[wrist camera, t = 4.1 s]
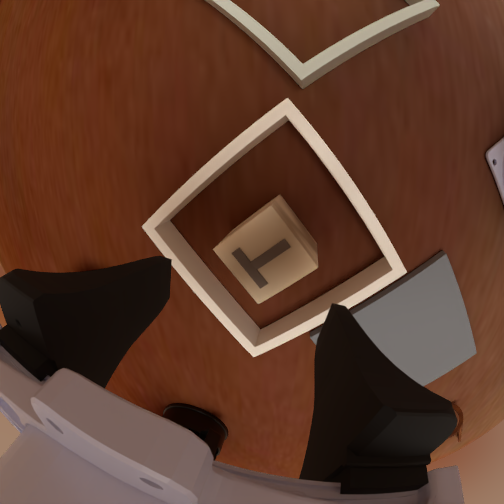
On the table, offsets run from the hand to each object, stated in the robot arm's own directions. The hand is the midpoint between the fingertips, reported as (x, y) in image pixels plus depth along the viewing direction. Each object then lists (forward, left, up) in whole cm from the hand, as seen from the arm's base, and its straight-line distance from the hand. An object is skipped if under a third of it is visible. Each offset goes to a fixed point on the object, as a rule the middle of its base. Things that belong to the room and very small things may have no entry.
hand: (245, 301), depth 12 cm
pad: (-15, -4, -9) cm, 18 cm away
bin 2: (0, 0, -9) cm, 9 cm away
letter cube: (0, 0, -10) cm, 10 cm away
